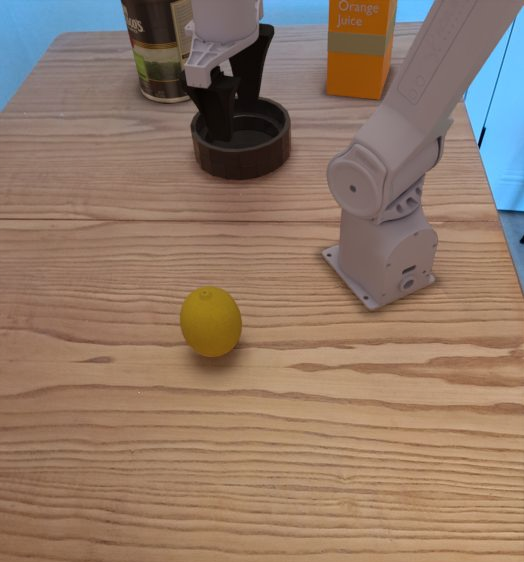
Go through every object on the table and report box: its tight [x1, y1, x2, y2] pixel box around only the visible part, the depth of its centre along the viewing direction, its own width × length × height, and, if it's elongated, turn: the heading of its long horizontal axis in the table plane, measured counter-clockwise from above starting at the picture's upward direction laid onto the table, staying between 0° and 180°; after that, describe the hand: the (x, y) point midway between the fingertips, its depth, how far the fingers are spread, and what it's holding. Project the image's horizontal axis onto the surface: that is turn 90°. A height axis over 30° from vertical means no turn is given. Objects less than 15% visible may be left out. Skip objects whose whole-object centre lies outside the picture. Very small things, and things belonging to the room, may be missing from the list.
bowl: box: [189, 95, 292, 181], centre depth 72 cm, size 12×12×4 cm
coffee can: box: [120, 0, 194, 104], centre depth 79 cm, size 10×10×14 cm
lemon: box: [179, 285, 243, 358], centre depth 52 cm, size 6×6×8 cm
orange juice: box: [326, 0, 399, 100], centre depth 75 cm, size 8×9×20 cm
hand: (235, 118), depth 61 cm, fingers open, 7 cm apart
